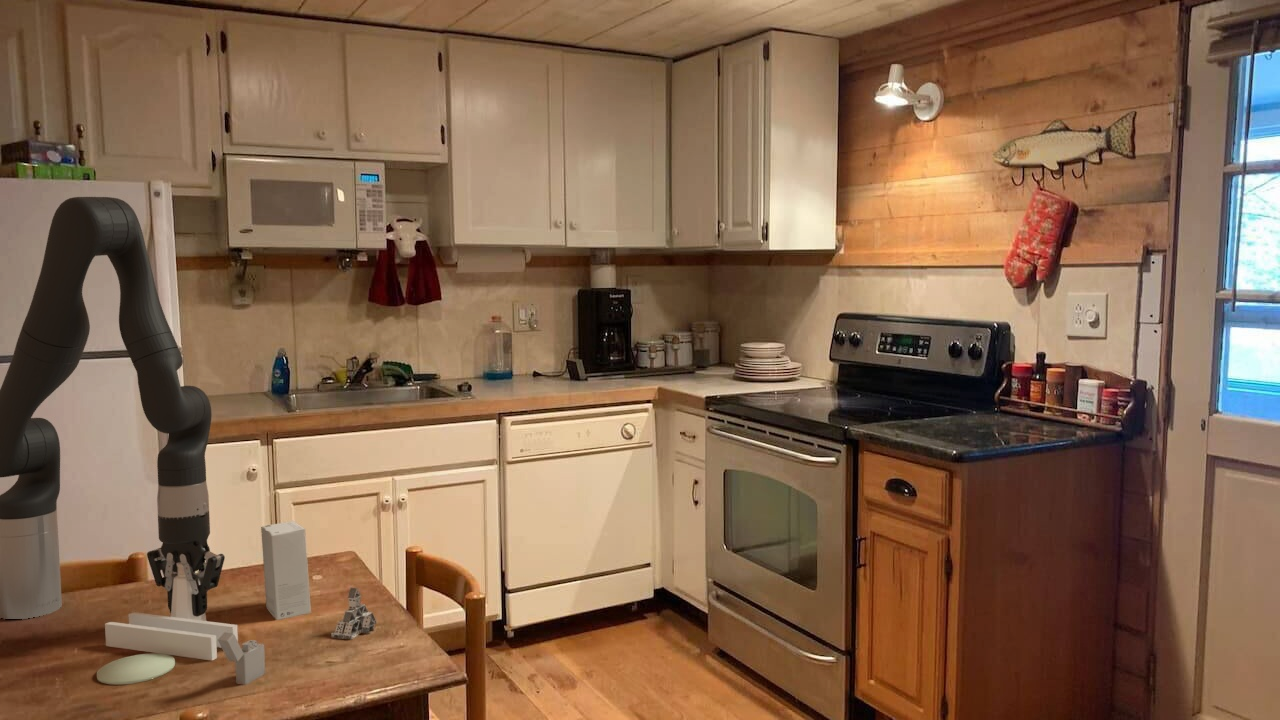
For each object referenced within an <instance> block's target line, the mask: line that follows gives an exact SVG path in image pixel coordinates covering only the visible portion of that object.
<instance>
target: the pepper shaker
mask: <svg viewBox="0 0 1280 720" xmlns="http://www.w3.org/2000/svg"><path fill="white" fill-rule="evenodd" d="M176 564H177V567H178V568H177V569H178V573H177V574H178V575H177V576H176V577H174V581H173V593H172V607H171V613H170V617H177V618H185V619H193V620H201V621H207V615H206V612H205V613H204V614H202V615H200V616H194V615H193V612H192V594H193V592H192V589H191V585H190V582H189V581H187V579H186V575H185V572H184V568H183V565H182V564H181V563H176ZM193 573H194V574H196V571H195V572H193ZM198 583H199V585H200V581H199V578H198Z"/></svg>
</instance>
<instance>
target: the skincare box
mask: <svg viewBox="0 0 1280 720" xmlns="http://www.w3.org/2000/svg"><path fill="white" fill-rule="evenodd" d="M260 533H261V544H262V546H261V547H262V559H263V562H262V563H263V576H264V577H263V578H264V591H265V604H266V607H265V608H266V609H267V610H268V612H269V613H270V614H271V615H272V617H273V618H274V619H275V620H276V621H280V620H285V619H289V618H290V619H291V618H294V617H298V616H303V615H308V614H312V610H311V609H312V608H311V597H310V581H309V579H310V577H309V566H308V553H307V539H306V528H304V527H303V526H302V525H300V524H298V523H297V522H296V521H294V520H293V521H286V522H279V523H274V524H273V523H272V524H268V525H262V526H260Z"/></svg>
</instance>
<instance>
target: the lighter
mask: <svg viewBox="0 0 1280 720" xmlns="http://www.w3.org/2000/svg"><path fill="white" fill-rule="evenodd" d="M218 641H219V643H220V645H221V647H222V648H221V650H222V651H223V652H224V656H225V657H226V659H227V661H228V662H234V663H235V682H236V683H235V684H237V685H248V684H249V683H252V682H253V681H255V680H257V679H258V678H261V677H262V676H263V675H266V664H265V661H266V660H265V656H266V655H265V644H264V643H259V642H257V640H255V639H249V640H247V641H245V642H243V643H241V645H240V643H239V640H238V641H237V639H236V637H235V635H234V634H233V633H226V632H224V634H223V635H222V636H221V637H220V638H219V639H218Z"/></svg>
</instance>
